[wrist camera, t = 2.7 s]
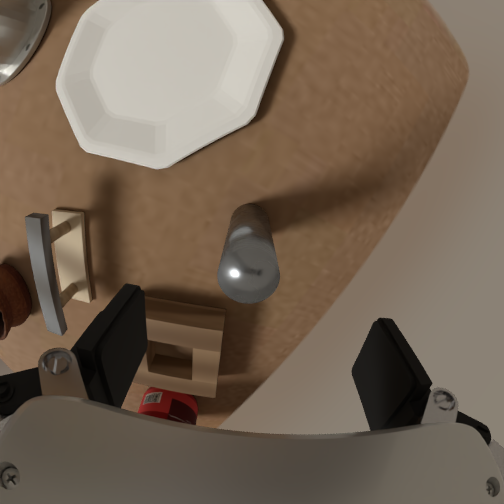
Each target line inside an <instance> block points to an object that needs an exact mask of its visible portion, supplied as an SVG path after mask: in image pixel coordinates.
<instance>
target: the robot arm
mask: <svg viewBox="0 0 504 504" xmlns="http://www.w3.org/2000/svg"><path fill="white" fill-rule="evenodd" d="M50 15H51V1H50V0H0V86H1V85H4V84H6V83H7V82H9V81H10V80H11V79H13V78H14V77H15V76H16V75H17V74H18V73H19V72H20V71H21V70H22V69H23V67H24V66H25V65H26V63H27V62H28V61H29V59H30V58H31V56H32V55H33V53H34V52H35V50H36V48H37V47H38V45H39V43H40V41H41V39H42V37H43V35H44V33H45V30H46V28H47V25H48V22H49V19H50ZM147 347H148V339H147V326H146V311H145V293H144V291H143V290H141V288H140V286H137V285H132V284H125V285H124V286H123V287H122V288H121V289H120V291H119V292H118V293H117V294H116V296H115V297H114V298H113V299H112V300H111V302H110V303H109V304H108V305H107V307H106V308H105V309H104V310H103V311H101V312H100V313H99V314H98V315H97V316H96V318H95V319H94V320H93V321H92V323H91V324H90V325H89V326H88V328H87V329H86V330H85V332H84V333H83V334H82V336H81V337H80V338H79V339H78V341H77V342H76V343H75V345H74V346H73V347H72V349H71V350H68V349H66V348H53V349H49V350H48V351H46V352H44V353H43V354H42V355H41V357H40V359H39V361H38V367H36V368H32V369H28V370H24V371H20V372H16V373H12V374H7V375H3V376H0V504H504V448H503V447H502V446H500V445H499V444H498V443H497V442H496V441H495V440H492V441H491V434H490V431H489V429H488V427H487V426H486V425H484V424H483V423H481V422H479V421H477V420H475V419H473V418H471V417H469V416H467V415H465V414H463V413H461V412H459V411H458V401H457V398H456V397H455V395H454V394H452V392H450V391H449V390H447V389H444V388H435V389H433V390H432V391H431V390H430V386H431V385H432V382H431V380H430V378H429V376H428V375H427V373H426V371H425V370H424V368H423V366H422V365H421V363H420V361H419V360H418V358H417V356H416V355H415V353H414V352H413V350H412V348H411V347H410V345H409V344H408V342H407V341H406V339H405V338H404V336H403V335H402V333H401V331H400V330H399V328H398V327H397V325H396V324H395V322H394V321H393V320H392V319H389V318H379V319H378V320H377V321H375V322H374V323H373V325H372V327H371V329H370V331H369V334H368V336H367V338H366V340H365V342H364V345H363V347H362V349H361V351H360V353H359V355H358V357H357V359H356V361H355V363H354V365H353V368H352V376H353V379H354V382H355V385H356V388H357V390H358V394H359V396H360V399H361V402H362V405H363V408H364V412H365V415H366V418H367V421H368V424H369V427H370V430H371V431H366V432H355V433H340V434H317V435H316V434H315V435H314V434H313V435H296V434H294V435H293V434H267V433H253V432H242V431H232V430H224V429H216V428H209V427H202V426H196V425H191V424H185V423H180V422H175V421H170V420H166V419H161V418H157V417H152V416H148V415H144V414H140V413H136V412H132V411H128V410H125V409H121V406H122V404H123V402H124V399H125V397H126V395H127V392H128V390H129V388H130V386H131V383H132V381H133V379H134V377H135V374H136V372H137V370H138V368H139V366H140V364H141V361H142V359H143V357H144V355H145V353H146V350H147Z"/></svg>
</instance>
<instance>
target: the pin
mask: <svg viewBox="0 0 504 504" xmlns="http://www.w3.org/2000/svg"><path fill="white" fill-rule="evenodd" d="M279 279H280V273H279V267H278V262H277V257H276V252H275V248H274V243H273V238H272V233H271V228H270V224H269V219H268V216H267V213H266V212H265V211H264V209H262V208H261V207H260V206H258V205H255V204H245V205H242V206H240V207H238V208H237V209H236V210H235V211H234V213H233V215H232V217H231V221H230V225H229V229H228V233H227V237H226V241H225V245H224V249H223V253H222V257H221V261H220V265H219V269H218V282H219V285H220V287H221V289H222V291H223V292H224V293H225V294H226V295H227V296H228V297H229V298H231V299H233V300H235V301H237V302H241V303H257V302H260V301H263V300H265V299H267V298H268V297H269V296H271V295H272V294H273V293H274V291H275V290H276V288H277V286H278V284H279Z"/></svg>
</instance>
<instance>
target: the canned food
mask: <svg viewBox="0 0 504 504" xmlns="http://www.w3.org/2000/svg"><path fill="white" fill-rule="evenodd" d="M138 413H140V414H144V415H148V416H152V417H157V418H161V419H166V420H170V421H175V422H180V423H185V424H191V425H196V419H197V413H198V406H197V402H196V400H195V398H194V397H193V396H192V395H191V394H185V393H180V392H175V391H170V390H165V389H160V388H155V387H150V388H149V389H148V390H147V391H146V393H145V394H144V396H143V399H142V402H141V405H140V407H139V410H138Z"/></svg>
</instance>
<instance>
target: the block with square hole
mask: <svg viewBox="0 0 504 504" xmlns="http://www.w3.org/2000/svg"><path fill="white" fill-rule="evenodd" d="M145 311H146V326H147V339H148V347H147V350H146V353H145V355H144V357H143V359H142V361H141V364H140V366H139V368H138V370H137V372H136V374H135V377H134V379H133V381H132V382H134V383H138V384H142V385H147V386H151V387H155V388H160V389H165V390H170V391H175V392H180V393H185V394H191V395H197V396H204V397H211V398H215V396H216V388H217V380H218V371H219V363H220V354H221V346H222V338H223V330H224V322H225V314H226V309H221V308H214V307H207V306H200V305H194V304H188V303H182V302H176V301H170V300H164V299H158V298H153V297H147V296H145Z"/></svg>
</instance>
